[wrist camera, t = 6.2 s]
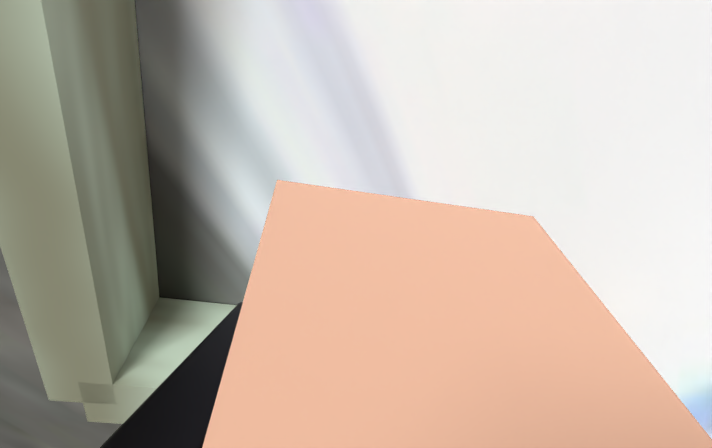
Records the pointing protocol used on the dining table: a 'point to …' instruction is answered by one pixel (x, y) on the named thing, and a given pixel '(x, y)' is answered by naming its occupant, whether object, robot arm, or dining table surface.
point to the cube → (429, 337)
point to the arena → (85, 207)
